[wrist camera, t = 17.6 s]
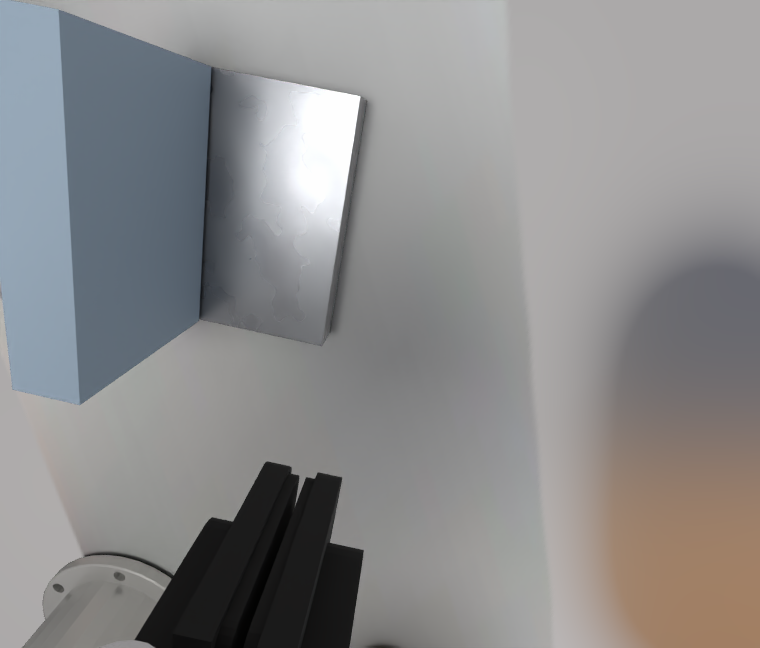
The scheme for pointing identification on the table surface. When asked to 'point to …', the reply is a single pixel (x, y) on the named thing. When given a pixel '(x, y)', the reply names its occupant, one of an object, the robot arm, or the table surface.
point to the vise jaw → (96, 199)
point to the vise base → (276, 203)
